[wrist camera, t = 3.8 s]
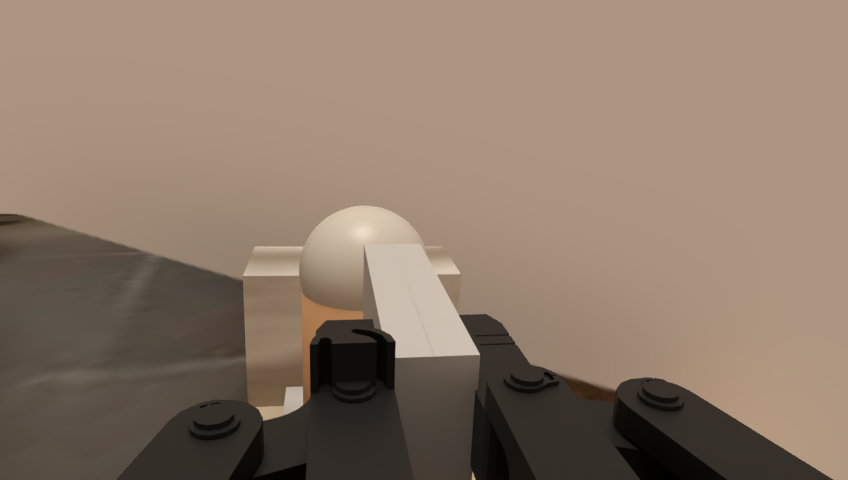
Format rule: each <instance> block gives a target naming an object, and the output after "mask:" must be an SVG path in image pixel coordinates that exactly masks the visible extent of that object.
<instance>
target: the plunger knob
mask: <svg viewBox="0 0 848 480" xmlns="http://www.w3.org/2000/svg"><path fill="white" fill-rule="evenodd" d="M364 244H421V246H422V248H423V250H424V252H425V254H426V256H427V257H428V255H427V252H426V248H425V246H424V244H423V241H422V239H421V238H420V236H419V235H418V233H417V232H416V230H415V229H414V228H413V227H412V226H411V225H410V224H409V223H408V222H407V221H406V220H405V219H403V218H402V217H400V216H399V215H397V214H395V213H393V212H391V211H389V210H386V209H383V208H379V207H374V206H355V207H350V208H346V209H343V210H341V211H338V212H336V213H334V214H332V215H331V216H329V217H327V218H326V219H325V220H323V221H322V222H321V223H320V224H319V225H318V226H317V227H316V228H315V229H314V230H313V232H312V233H311V234H310V236H309V237H308V239H307V241H306V243H305V245H304V248H303V250H302V253H301V257H300V262H299V279H300V285H301V290H302V353H303V405H304V404H305V403H306V402H307V401H308V400H309V398H310V343H311V341H312V339H313V337H315V336H316V330H317V329H318V328H319V327H320V326H321V325H322V324H323V323H324V322H325V321H326V320H356V319H363V280H364Z"/></svg>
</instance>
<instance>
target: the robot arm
mask: <svg viewBox="0 0 848 480" xmlns="http://www.w3.org/2000/svg"><path fill="white" fill-rule="evenodd" d="M472 471H473V474H474V477H475V479H476V480H833V479H831V478H829V477H828V476H826V475H824V474H823V473H821V472H820V471H818V470H817V469H815V468H813V467H812V466H810V465H809V464H807V463H805V462H804V461H802V460H800V459H799V458H797V457H796V456H794V455H792V454H791V453H789V452H787V451H786V450H784V449H783V448H781V447H779V446H778V445H776V444H774V443H773V442H771V441H770V440H768V439H766V438H765V437H763V436H762V435H760V434H758V433H757V432H755V431H753V430H752V429H750V428H749V427H747V426H746V425H744V424H742V423H741V422H739V421H738V420H736V419H734V418H733V417H731V416H729V415H728V414H726V413H725V412H723V411H721V410H720V409H718V408H717V407H715V406H713V405H712V404H710V403H709V402H707V401H705V400H704V399H702V398H700V397H699V396H697V395H696V394H694V393H692V392H691V391H689V390H687V389H685V388H683V387H680V386H678V385H676V384H673V383H669V382H666V381H665V380H662V379H657V378H654V379H653V378H640V379H630V380H627V381H625V382H622V383H621V384H620V385H619V386H618V388H617V390H616V397H615V403H609V402H602V401H594V400H587V399H581V398H577V397H576V395H575V394H574V393H573V391H572V390H571V389H570V387H569V386H568V385H567V383H566V382H565V381H564V380H563V379H562V378H561V377H559V376H558V375H557V374H556V373H554V372H552V371H549V370H547V369H545V368H542V367H537V366H533V365H530V363H529V362H528V361H527V359H526V358H525V356H524V355H523V353H522V352H521V351H520V349H519V348H518V346H517V345H515V342H514V341H513V339H512V338H511V336H509V333H508V332H507V330H506V329H505V328H504V326H503V325H502V323H500V322H498V321H497V320H495V319H493V318H492V317H490V316H488V315H486V314H482V315H481V314H480V315H479V314H478V315H458V313H457V311H456V309H455V307H454V305H453V304H452V302H451V300H450V298H449V296H448V294H447V293H446V291H445V289H444V287H443V285H442V283H441V281H440V280H439V278H438V276H437V274H436V272H435V270H434V268H433V267H432V265H431V263H430V261H429V259H428V257H427V256H426V254H425V252H424V250H423V248H422V246H421V244H364V280H363V319H356V320H326V321H325V322H324V323H323V324H322V325H321V326H320V327H319V328H318V329H317V330H316V336H315V337H313V339H312V341H311V343H310V398H309V400H308V401H307V402H306V403H305V404H304V405H303V406H301V407H300V408H299V409H297V410H295V411H293V412H291V413H289V414H286V415H283V416H280V417H277V418H273V419H269V420H265V421H263V417H262V415H261V413H260V411H259V409H257V408H256V407H254V406H252V405H250V404H249V403H245V402H240V401H235V400H212V401H210V402H208V401H207V402H203V403H199V404H197V405H195V406H193V407H190V408H188V409H186V410H183V411H181V412H180V413H179V414H177V415H176V416H175V417H173V418H172V419H171V420H170V421H169V422H168V423H167V424H166V425H165V426H164V427H163V428H162V429H161V431H160V432H159V433H158V434H157V435H156V436H155V437H154V438H153V439H152V441H151V442H150V443H149V444H148V445H147V446H146V447H145V448H144V449H143V451H142V452H141V453H140V454H139V455H138V456H137V457H136V458H135V459H134V461H133V462H132V463H131V464H130V465H129V466H128V467H127V468H126V469H125V471H124V472H123V473H122V474H121V475H120V476H119V477H118V478H117V480H472Z"/></svg>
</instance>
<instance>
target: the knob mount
mask: <svg viewBox="0 0 848 480" xmlns="http://www.w3.org/2000/svg"><path fill="white" fill-rule="evenodd" d="M303 248H304V247H255V248H254V250H253V253H252V255H251V257H250V260H249V262H248V265H247V267H246V270H245V272H244V274H243V293H244V317H245V341H246V366H247V390H248V403H249V404H250V405H252V406H254V407H256V408H257V409H259V411H260V413H261V415H262V417H263V421H265V420H269V419H273V418H277V417H280V416H283V415H286V414H289V413H291V412H293V411H295V410H297V409H299V408H300V407H301V406H303V353H302V290H301V285H300V279H299V262H300V257H301V253H302V250H303ZM425 248H426V252H427V255H428V259H429V261H430V263H431V265H432V267H433V268H434V270H435V272H436V274H437V276H438V278H439V280H440V281H441V283H442V285H443V287H444V289H445V291H446V293H447V294H448V296H449V298H450V300H451V302H452V304H453V305H454V307H455V309H456V311H457V313H458V309H459V294H460V279H461V274H460V272H459V271H458V269H457V267H456V266H455V264H454V263H453V261H452V260H451V258H450V256H449V255H448V254H447V252H446V250H445V249H444V247H442V246H437V247H436V246H432V247H431V246H430V247H429V246H425ZM472 480H476V479H475V477H474V474H473V471H472Z"/></svg>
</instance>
